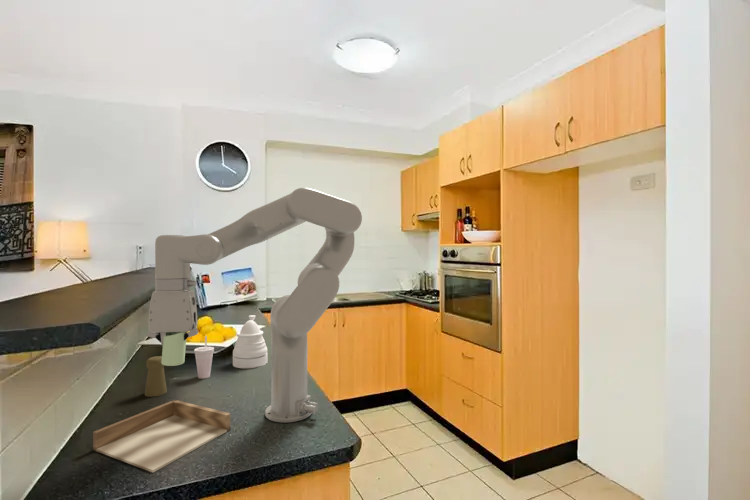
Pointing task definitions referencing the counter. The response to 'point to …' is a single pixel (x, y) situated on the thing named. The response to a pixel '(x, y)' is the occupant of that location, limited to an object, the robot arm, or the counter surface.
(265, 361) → the honey pot
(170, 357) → the candle
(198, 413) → the wooden tray
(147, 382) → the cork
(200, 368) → the smoothie
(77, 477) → the counter surface
